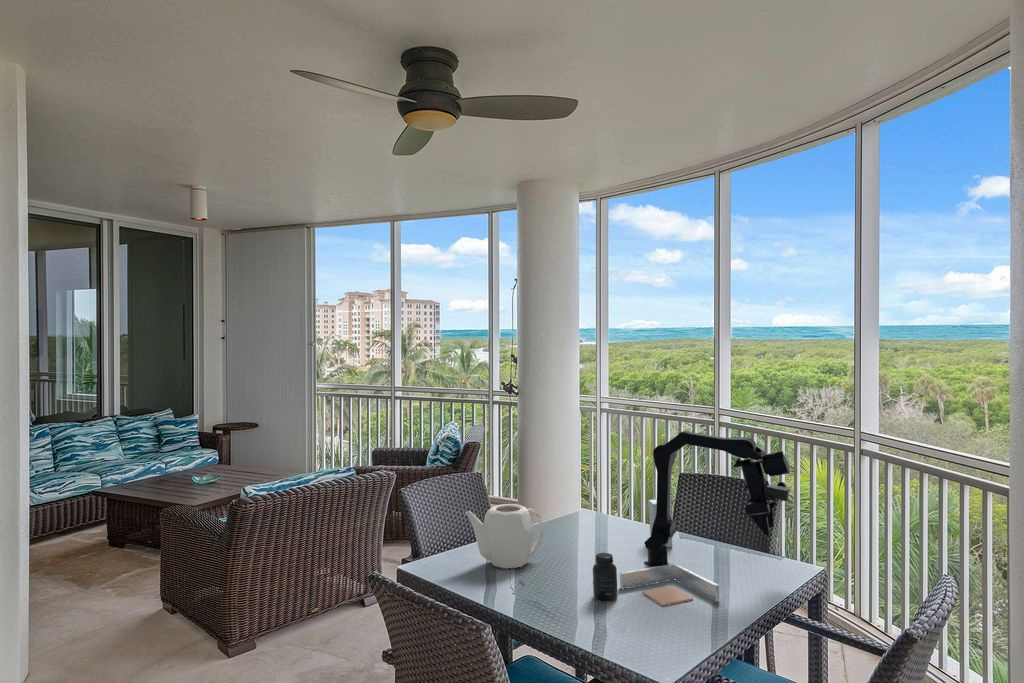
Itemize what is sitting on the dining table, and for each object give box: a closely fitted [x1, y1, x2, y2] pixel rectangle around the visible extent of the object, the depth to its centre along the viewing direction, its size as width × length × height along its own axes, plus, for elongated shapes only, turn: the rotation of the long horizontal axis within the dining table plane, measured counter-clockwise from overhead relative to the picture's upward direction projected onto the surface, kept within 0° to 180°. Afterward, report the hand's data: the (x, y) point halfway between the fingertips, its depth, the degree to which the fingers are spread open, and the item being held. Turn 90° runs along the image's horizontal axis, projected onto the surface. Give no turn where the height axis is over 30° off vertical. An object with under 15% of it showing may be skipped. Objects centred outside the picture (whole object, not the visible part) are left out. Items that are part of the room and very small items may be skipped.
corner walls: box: [619, 563, 720, 603], centre depth 174 cm, size 20×20×4 cm
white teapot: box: [464, 503, 544, 570], centre depth 203 cm, size 16×27×19 cm, turn 105°
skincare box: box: [647, 498, 673, 548], centre depth 221 cm, size 8×7×16 cm
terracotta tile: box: [641, 585, 693, 607], centre depth 173 cm, size 10×10×1 cm
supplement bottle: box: [592, 552, 618, 602], centre depth 173 cm, size 7×7×12 cm
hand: (769, 531), depth 182 cm, fingers open, 9 cm apart
